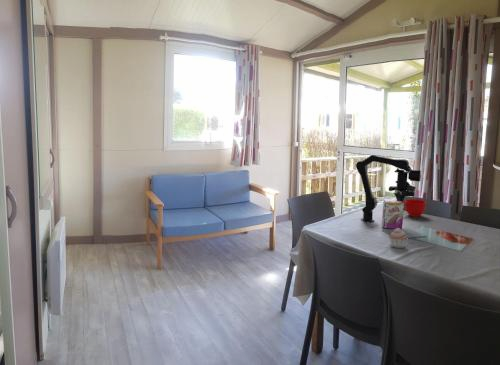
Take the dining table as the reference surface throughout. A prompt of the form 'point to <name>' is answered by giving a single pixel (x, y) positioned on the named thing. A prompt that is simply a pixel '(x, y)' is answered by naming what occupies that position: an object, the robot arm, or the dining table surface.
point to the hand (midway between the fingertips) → (399, 204)
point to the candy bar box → (392, 214)
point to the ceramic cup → (415, 207)
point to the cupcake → (398, 238)
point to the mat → (406, 232)
